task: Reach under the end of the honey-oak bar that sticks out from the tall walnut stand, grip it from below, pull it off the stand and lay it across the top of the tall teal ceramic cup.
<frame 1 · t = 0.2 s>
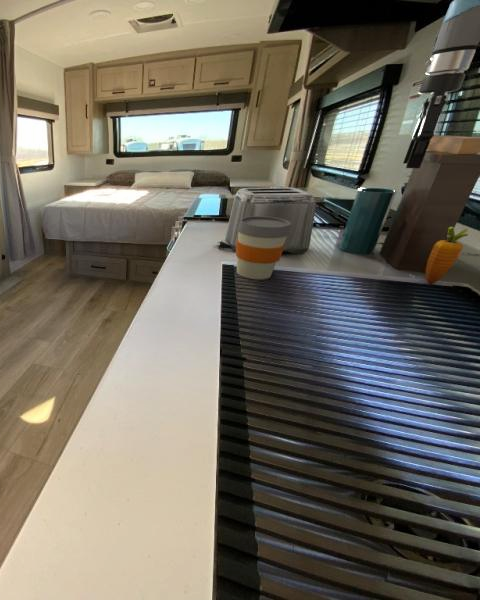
hand: (410, 165, 92), 26 cm above the worktop, tool pointing down, fingers open, 13 cm apart
toaster: (259, 248, 115), on the worktop
reusable coffee cup: (253, 273, 95), on the worktop
carrot: (429, 285, 85), on the worktop
oak bar: (442, 150, 88), point 30 cm above the worktop, touching walnut stand
tall cup: (355, 250, 109), on the worktop
walnut stand: (403, 262, 98), on the worktop
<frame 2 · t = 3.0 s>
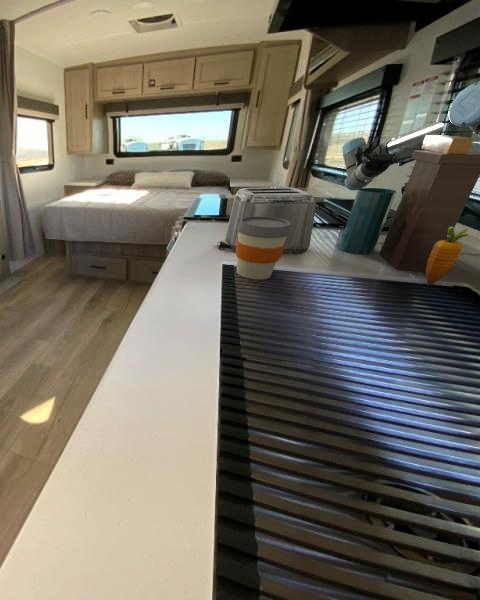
hand: (405, 140, 105), 32 cm above the worktop, tool pointing upward, fingers open, 13 cm apart
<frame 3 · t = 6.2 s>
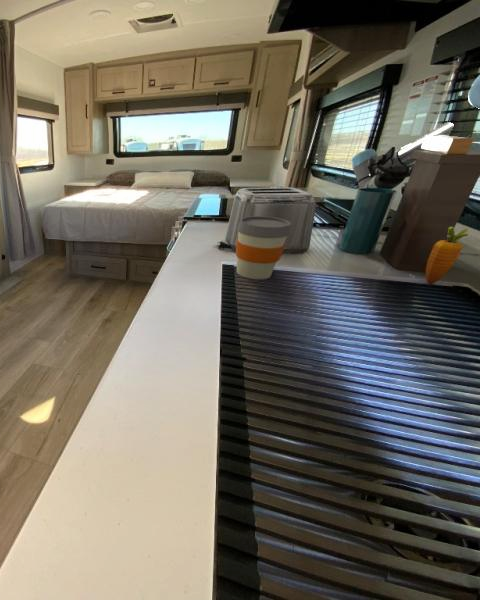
hand: (422, 150, 98), 29 cm above the worktop, tool pointing upward, fingers open, 13 cm apart
nothing on the worktop moved.
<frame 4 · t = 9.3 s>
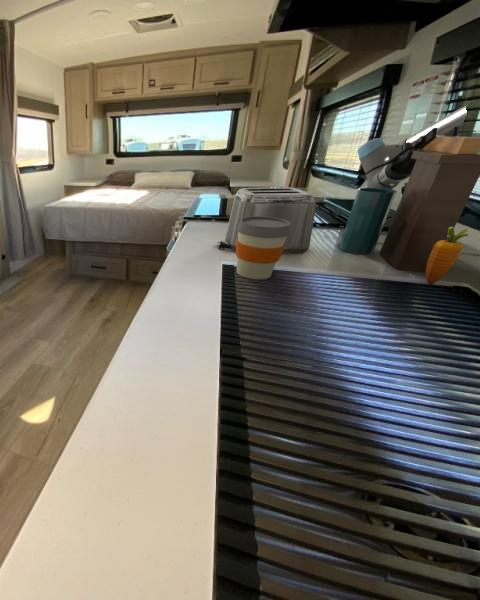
hand: (445, 132, 89), 34 cm above the worktop, tool pointing upward, fingers closed on oak bar, 3 cm apart
oak bar: (442, 150, 88), point 30 cm above the worktop, touching gripper, walnut stand
everything else where it was.
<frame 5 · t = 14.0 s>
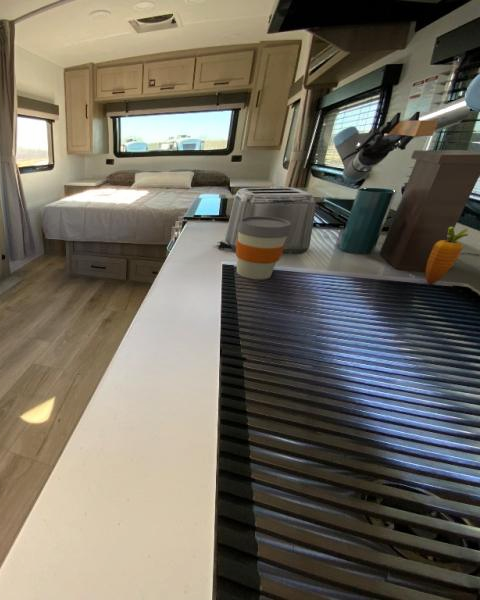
hand: (407, 116, 94), 38 cm above the worktop, tool pointing upward, fingers closed on oak bar, 3 cm apart
oak bar: (405, 134, 94), point 34 cm above the worktop, touching gripper
everything else where it was.
when the fingers open (23 cm above the worktop, at t = 18.7 s): oak bar stays where it is, resting on tall cup.
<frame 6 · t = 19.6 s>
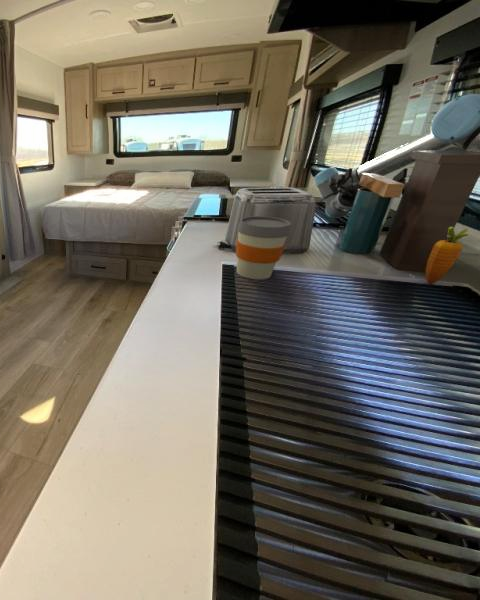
hand: (377, 172, 102), 24 cm above the worktop, tool pointing upward, fingers open, 13 cm apart
oak bar: (376, 190, 100), point 19 cm above the worktop, touching tall cup
everything else where it was.
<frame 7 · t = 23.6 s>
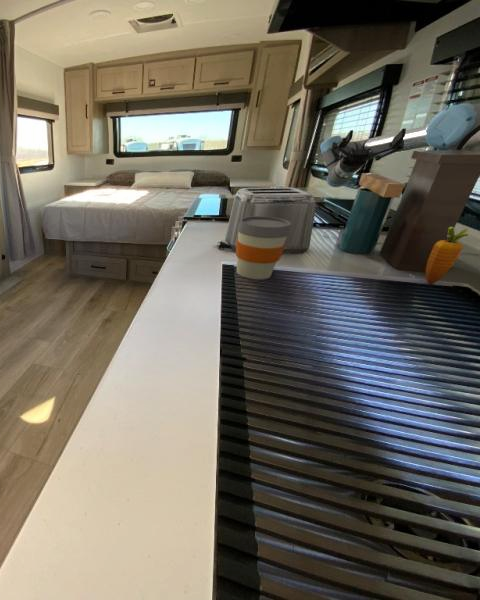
hand: (377, 133, 107), 34 cm above the worktop, tool pointing upward, fingers open, 13 cm apart
nothing on the worktop moved.
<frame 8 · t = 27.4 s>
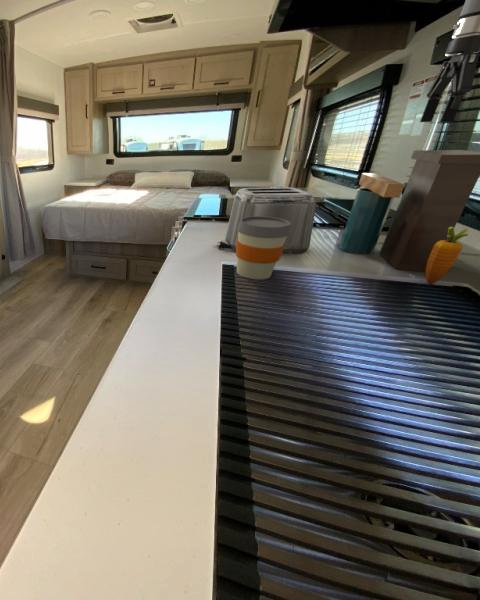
hand: (435, 122, 103), 37 cm above the worktop, tool pointing down, fingers open, 13 cm apart
nothing on the worktop moved.
at the end: oak bar inside the target area on the tall cup (0.1 cm from its centre), point 19.0 cm above the tall cup's base; the gripper is holding nothing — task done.
